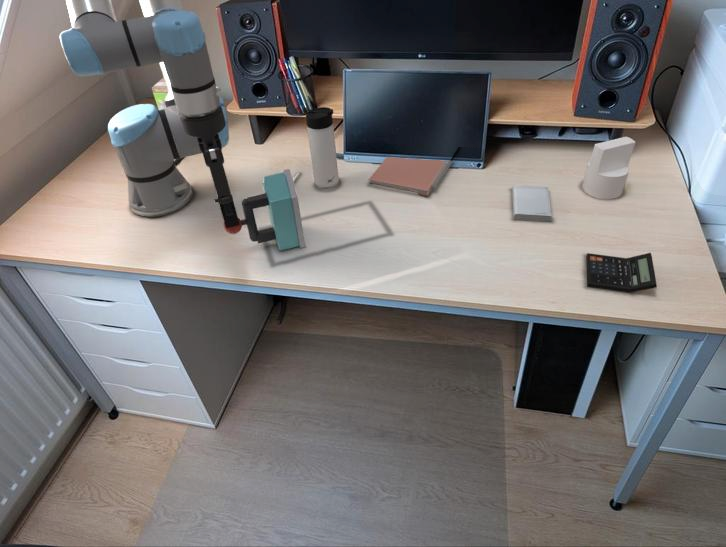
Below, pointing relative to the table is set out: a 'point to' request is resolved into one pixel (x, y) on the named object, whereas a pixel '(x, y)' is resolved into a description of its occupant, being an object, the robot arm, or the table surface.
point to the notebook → (411, 174)
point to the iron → (275, 213)
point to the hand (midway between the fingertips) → (227, 207)
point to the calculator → (620, 272)
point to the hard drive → (531, 203)
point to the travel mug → (322, 147)
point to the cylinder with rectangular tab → (608, 168)
